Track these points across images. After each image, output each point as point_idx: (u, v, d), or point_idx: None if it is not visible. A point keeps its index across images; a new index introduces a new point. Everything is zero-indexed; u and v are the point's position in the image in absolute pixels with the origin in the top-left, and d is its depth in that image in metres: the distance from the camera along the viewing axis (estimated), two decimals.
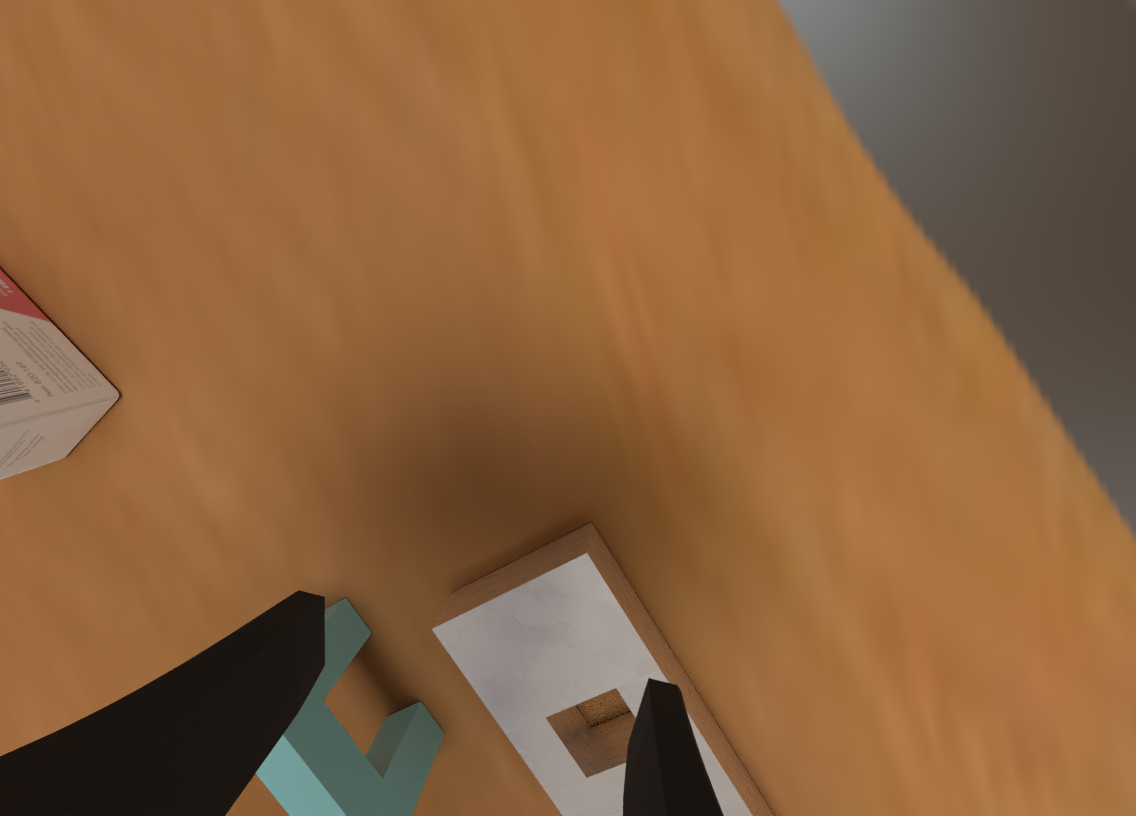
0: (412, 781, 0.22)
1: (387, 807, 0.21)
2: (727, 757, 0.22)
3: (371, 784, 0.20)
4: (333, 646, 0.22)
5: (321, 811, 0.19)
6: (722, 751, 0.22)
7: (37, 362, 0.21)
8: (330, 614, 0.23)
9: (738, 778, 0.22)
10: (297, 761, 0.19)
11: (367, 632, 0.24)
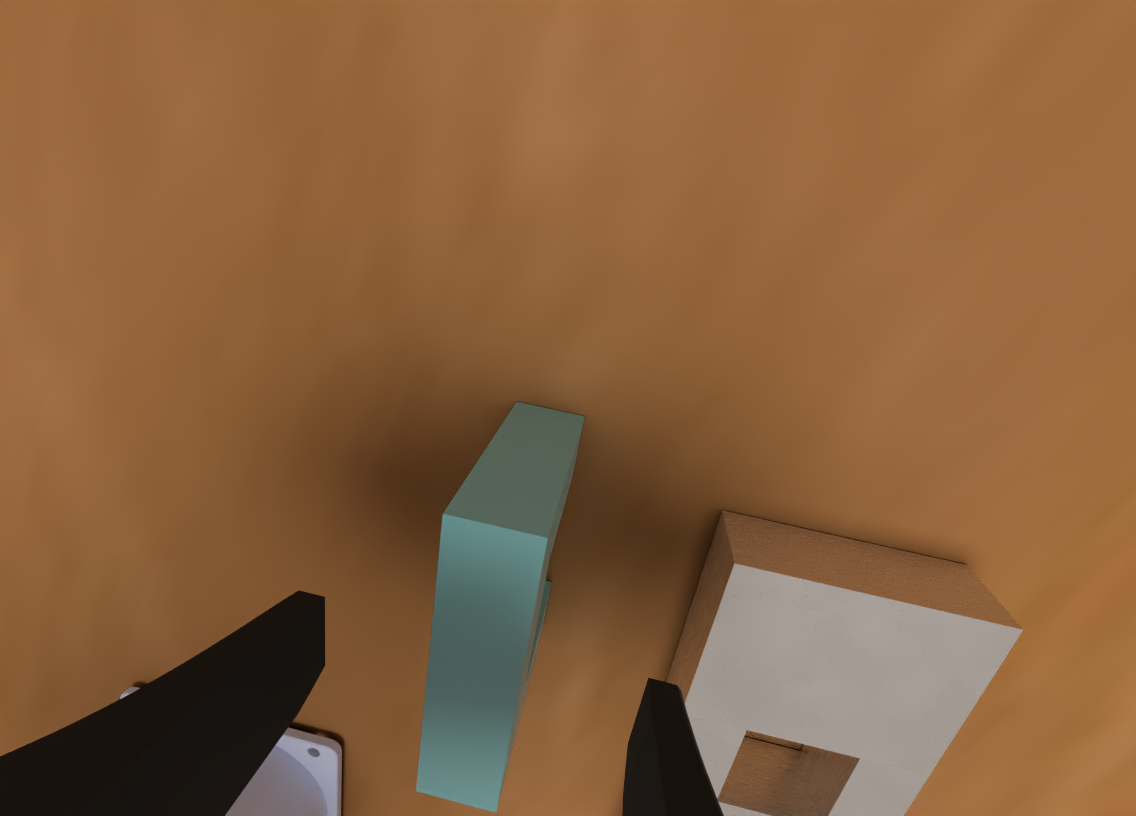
0: (526, 687, 0.15)
1: (516, 723, 0.14)
2: None
3: (523, 690, 0.13)
4: (568, 482, 0.14)
5: (479, 709, 0.12)
6: None
7: None
8: (576, 431, 0.14)
9: None
10: (516, 643, 0.11)
11: None
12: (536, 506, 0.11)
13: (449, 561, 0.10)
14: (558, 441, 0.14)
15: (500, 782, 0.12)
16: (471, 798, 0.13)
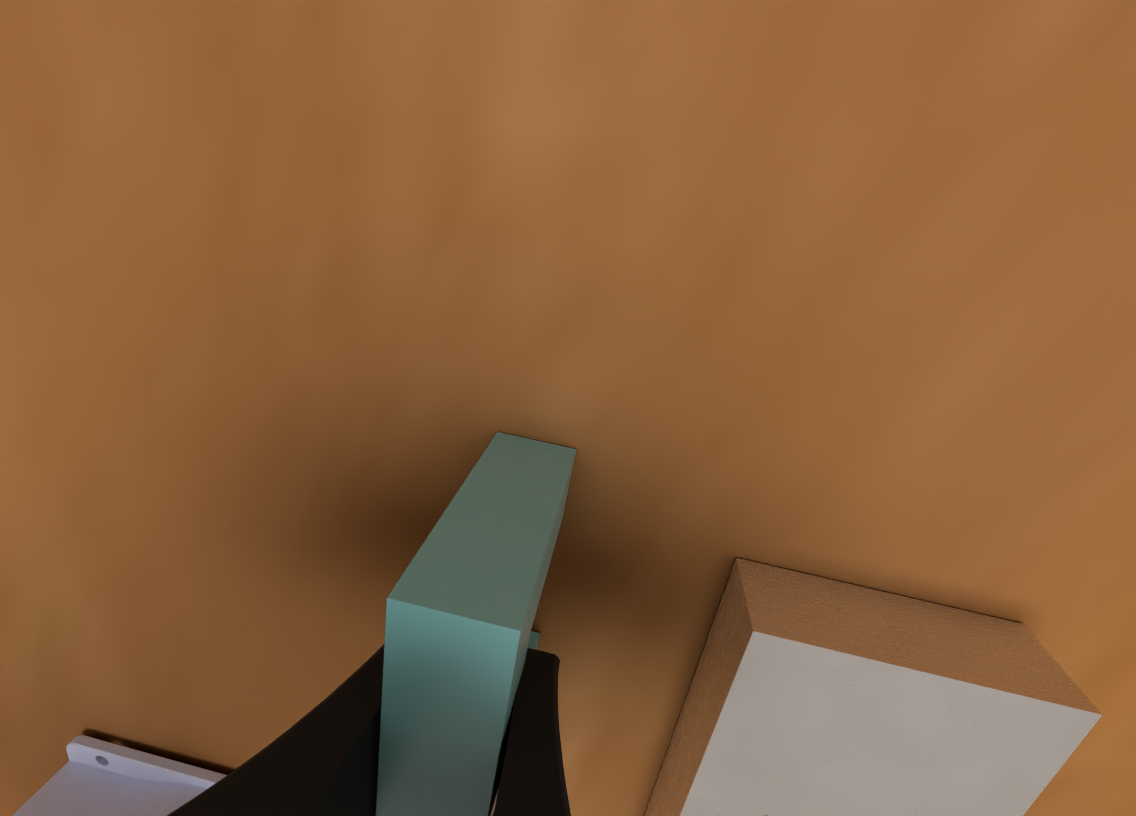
0: None
1: None
2: None
3: None
4: (555, 532, 0.12)
5: None
6: None
7: None
8: (565, 470, 0.12)
9: None
10: (484, 751, 0.09)
11: (562, 515, 0.14)
12: (509, 581, 0.09)
13: (398, 654, 0.08)
14: (542, 484, 0.11)
15: None
16: None
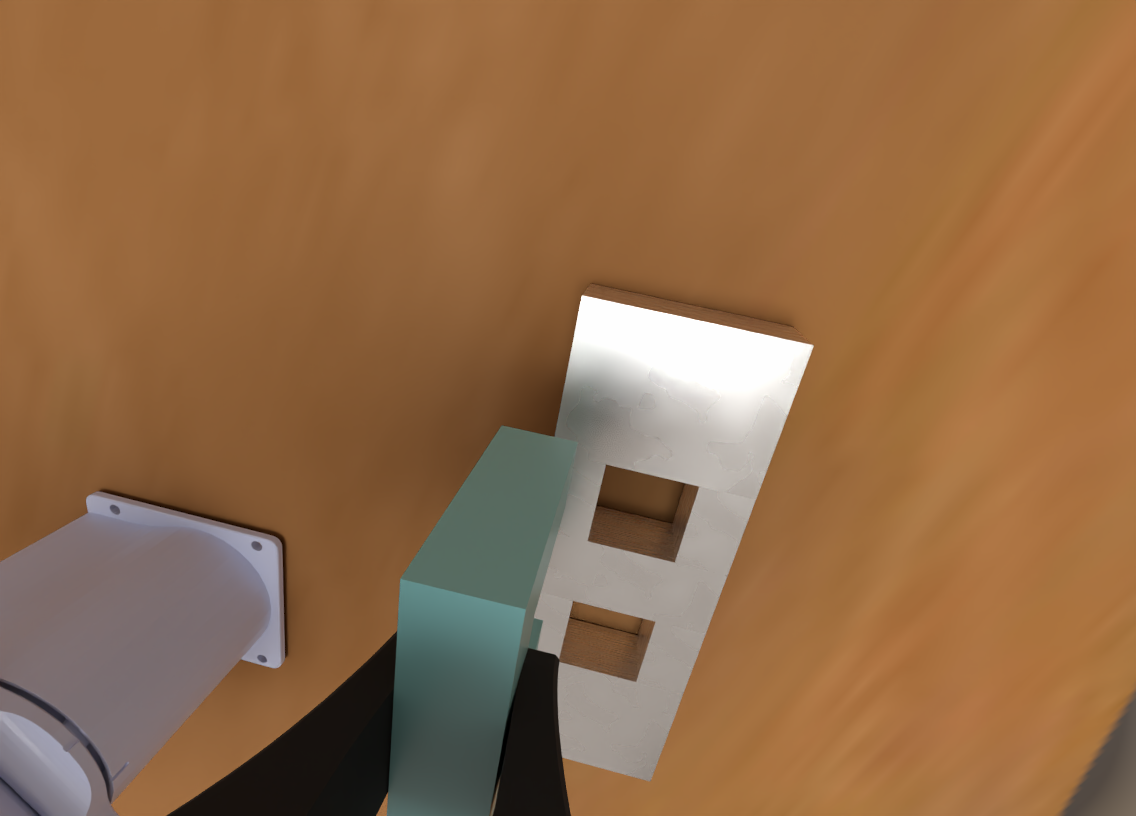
0: None
1: None
2: None
3: None
4: (558, 520, 0.12)
5: (451, 793, 0.10)
6: None
7: None
8: (567, 462, 0.13)
9: None
10: (491, 724, 0.09)
11: (564, 505, 0.14)
12: (514, 564, 0.09)
13: (410, 632, 0.09)
14: (545, 474, 0.12)
15: None
16: None
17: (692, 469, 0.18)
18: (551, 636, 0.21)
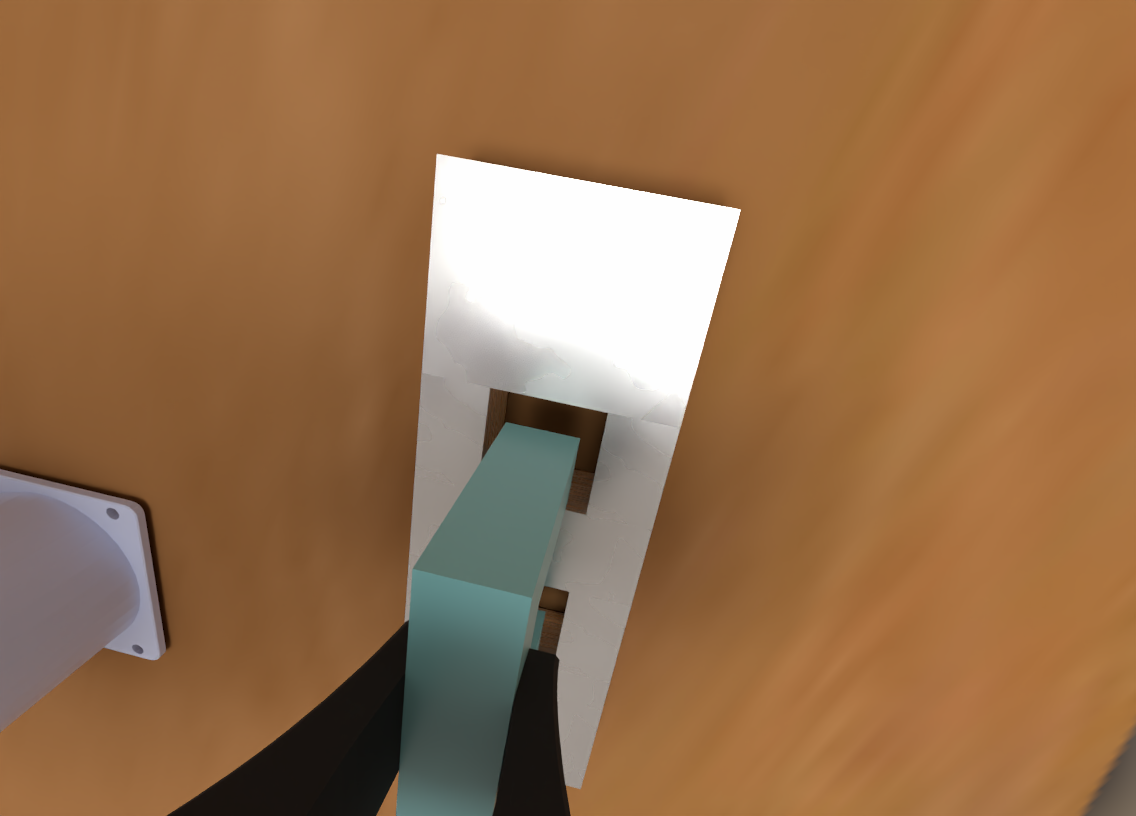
0: None
1: None
2: None
3: None
4: (561, 514, 0.13)
5: (459, 775, 0.11)
6: None
7: None
8: (569, 457, 0.13)
9: None
10: (498, 708, 0.10)
11: (567, 499, 0.15)
12: (521, 556, 0.09)
13: (421, 620, 0.09)
14: (549, 470, 0.12)
15: None
16: None
17: (597, 390, 0.14)
18: None
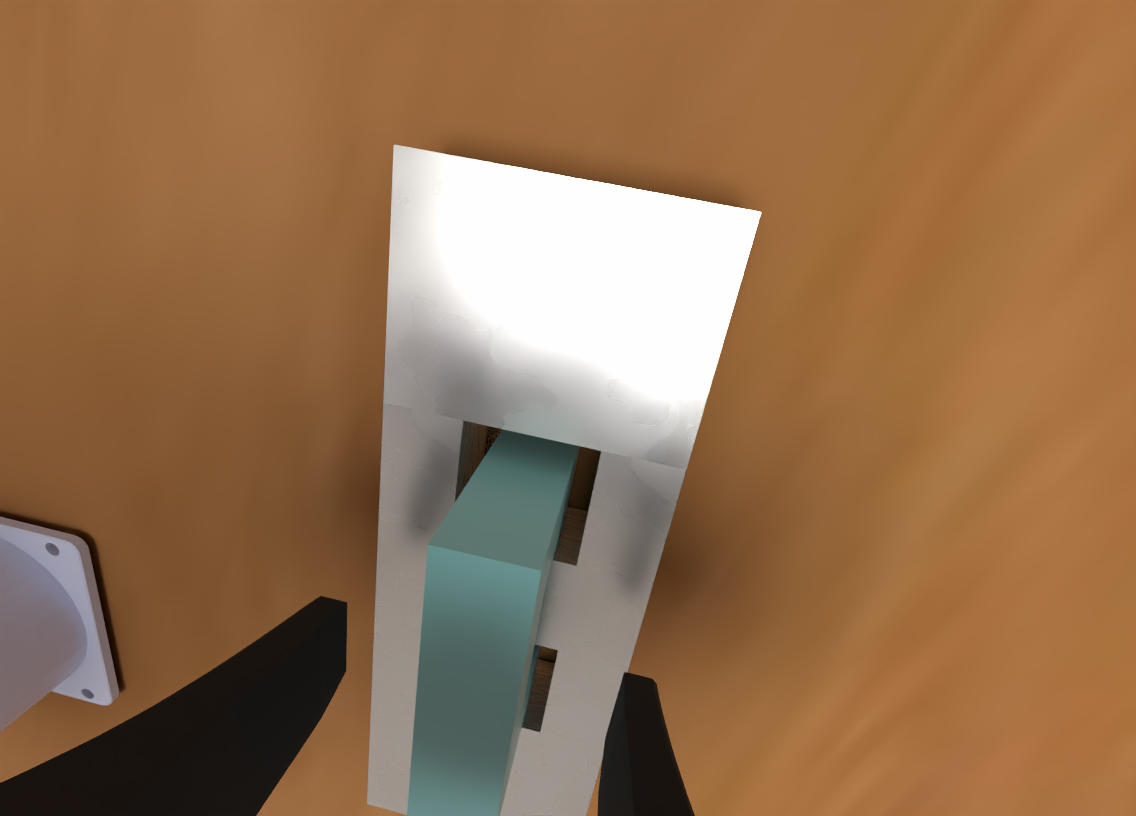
0: (523, 715, 0.15)
1: (512, 756, 0.13)
2: None
3: (518, 722, 0.13)
4: (565, 500, 0.13)
5: (470, 748, 0.11)
6: None
7: None
8: (573, 447, 0.14)
9: None
10: (509, 680, 0.10)
11: (571, 490, 0.15)
12: (529, 534, 0.10)
13: (436, 594, 0.10)
14: (554, 457, 0.13)
15: None
16: None
17: (589, 424, 0.12)
18: None
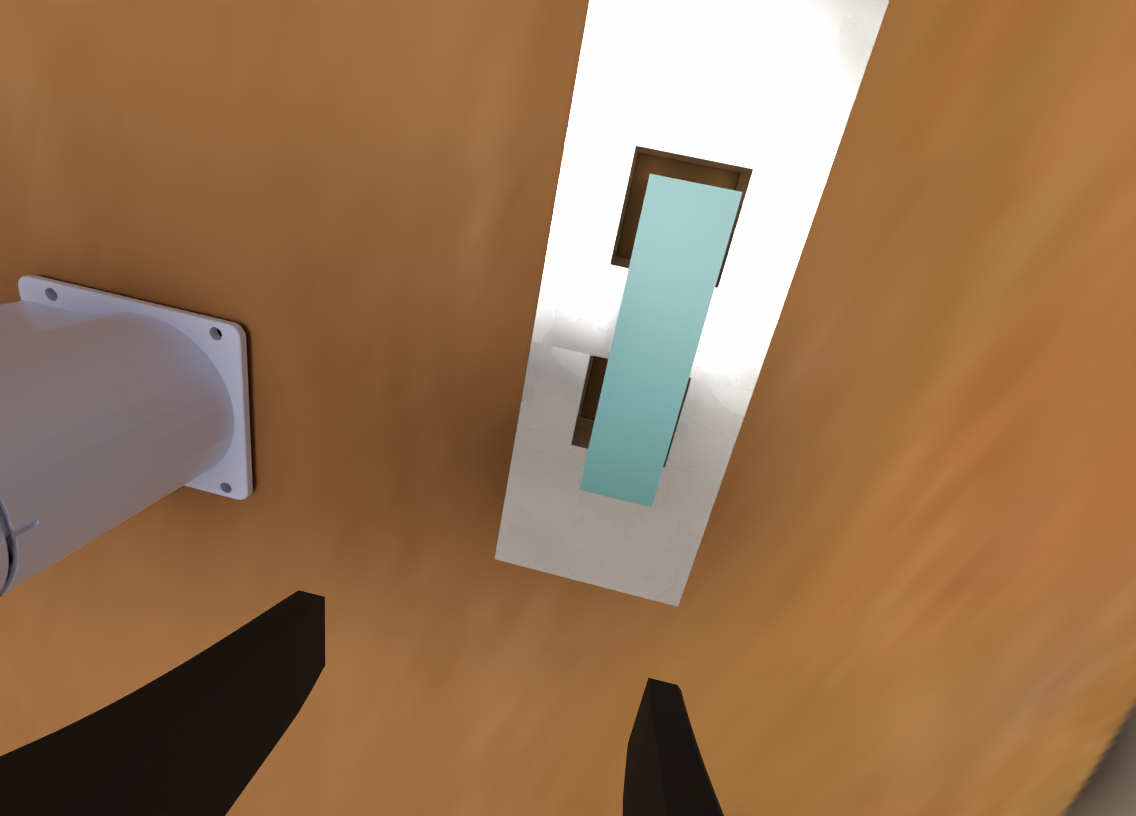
0: None
1: None
2: None
3: None
4: None
5: (651, 391, 0.13)
6: None
7: None
8: None
9: None
10: (697, 311, 0.12)
11: None
12: None
13: (648, 226, 0.12)
14: None
15: (660, 472, 0.14)
16: (631, 492, 0.14)
17: (745, 143, 0.14)
18: (563, 408, 0.18)
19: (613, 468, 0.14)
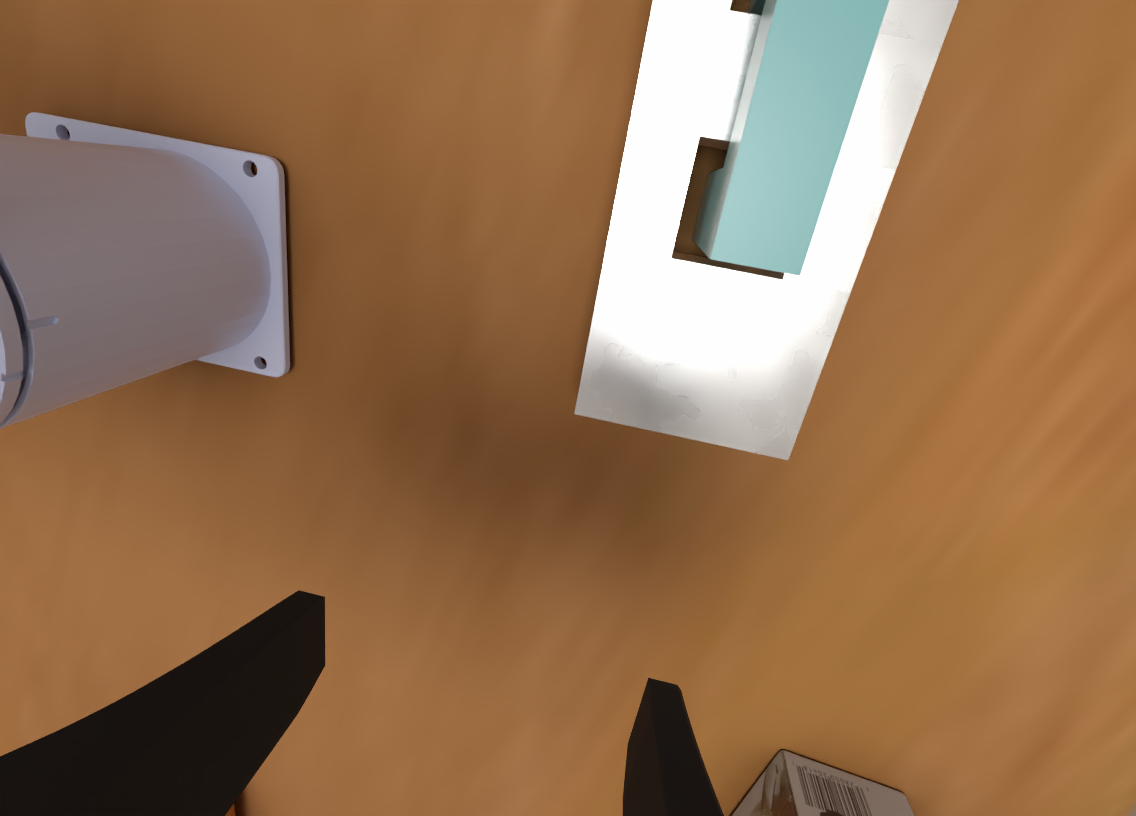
0: None
1: None
2: None
3: None
4: None
5: (812, 107, 0.11)
6: None
7: None
8: None
9: None
10: None
11: None
12: None
13: None
14: None
15: (814, 225, 0.12)
16: (775, 257, 0.12)
17: None
18: (663, 211, 0.15)
19: (755, 224, 0.12)
